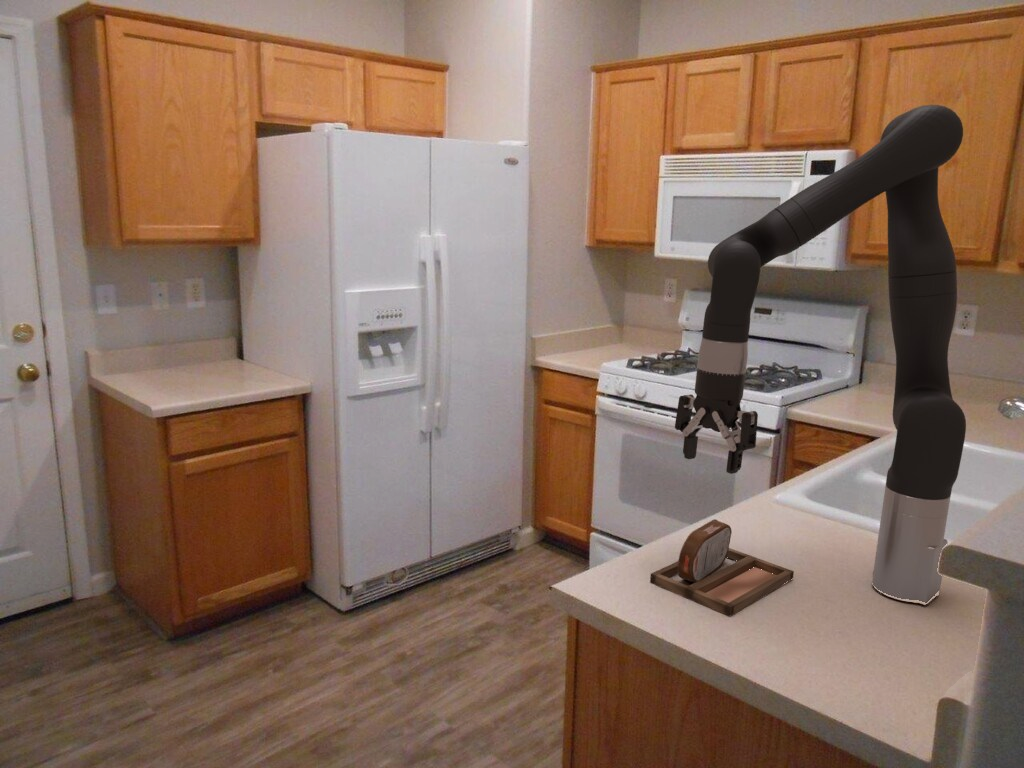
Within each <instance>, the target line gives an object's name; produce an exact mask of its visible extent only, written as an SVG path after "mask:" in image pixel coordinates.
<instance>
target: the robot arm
mask: <svg viewBox="0 0 1024 768" xmlns="http://www.w3.org/2000/svg"><path fill="white" fill-rule="evenodd" d="M963 138H964V126H963V122H962V120H961V118H960V116H959V115H958V114H957V113H956V112H955V111H954V110H953V109H951V108H949V107H947V106H944V105H940V104H928V105H921V106H917V107H914V108H912V109H909V110H908V111H906V112H904V113H901V114H899V115H897V116H896V117H894V118H893V119H892V120H891V121H890V122H889V123H888V124H887V125H886V127H885V128H884V129H883V131H882V133H881V136H880V139H879V140H880V141H879V142H878V143H877V144H875V145H874V146H873V147H871V148H870V149H869V150H867V151H866V152H864V153H863V154H862V155H860V156H859V157H857V158H856V159H855V160H853V161H852V162H850V163H848V164H846V165H845V166H843V167H842V168H840V169H838V170H837V171H835V172H833V173H831V174H829V175H827V176H825V177H823V178H822V179H820V180H818V181H816V182H815V183H813V184H811V185H809V186H807V187H806V188H804V189H802V190H800V191H799V192H798V193H796V194H794V195H793V196H791V197H790V198H789V199H787V200H785V201H784V202H783V203H781V204H780V205H778V206H777V207H775V208H773V209H771V210H770V211H769V212H768V213H767V214H765V215H764V216H763V217H762V218H760V219H758V220H756V221H754V222H753V223H751V224H750V225H747V226H746V227H744V228H742V229H740V230H739V231H738V230H737V232H734V233H733V234H732V235H730V236H728V237H726V238H725V239H724V240H722V241H721V242H719V243H717V245H715V246H714V248H713V249H712V250H711V251H710V253H709V255H708V259H707V269H708V272H709V274H710V275H711V277H712V281H711V288H710V289H711V290H710V300H709V303H708V304H707V307H706V308H705V312H704V319H703V326H702V334H701V342H700V346H699V349H698V350H699V351H698V355H697V356H698V357H697V364H696V365H697V367H696V373H695V374H696V375H695V385H694V393H695V395H696V396H694V395H693V394H684V395H680V396H679V398H678V402H677V410H676V417H675V422H674V429H675V430H676V431H680V432H681V433H682V435H683V437H684V438H683V448H682V453H683V455H684V456H683V457H684V459H686V460H692V459H695V458H696V456H697V449H698V440H699V436H697V435H698V433H699V432H700V431H701V430H702V429H710V430H712V431H714V432H716V433H720V435H721V438H723V439H724V440H725V441H726V443H727V445H728V447H729V449H730V450H728V453H727V462H726V468H725V469H726V470H725V471H726V473H728V474H731V475H732V474H736V473H738V471H740V470H741V469H742V461H743V455H744V451H748V450H753V449H755V448H756V446H757V445H756V444H757V433H758V431H757V430H758V420H759V419H758V418H759V416H758V415H759V414H758V412H757V411H756V410H753V411H752V410H751V411H747V410H742V408H741V401H742V399H743V397H744V388H745V381H746V374H747V364H748V358H749V357H748V355H749V354H748V352H749V350H748V345H749V333H750V326H751V312H752V308H753V304H754V302H755V298H756V293H757V290H758V286H759V280H760V276H761V268H762V267H764V266H766V265H767V264H768V263H770V262H772V261H773V260H775V259H776V258H778V257H779V258H780V257H781V256H785V255H788V254H790V253H792V252H794V251H796V250H797V249H798V250H799V248H801V247H803V246H804V245H805V244H807V243H809V242H810V241H812V240H813V239H814V238H816V237H818V236H819V235H820V234H823V233H824V232H825V231H827V230H828V229H830V228H831V227H832V226H834V225H836V224H837V223H838V222H840V221H842V220H843V219H844V218H845V217H847V216H848V215H850V214H851V213H852V212H854V211H856V210H857V209H859V208H860V207H862V206H863V205H865V204H867V203H868V202H870V201H871V200H873V199H874V198H876V197H878V196H879V195H881V194H884V193H885V198H886V208H887V257H888V261H887V262H888V263H887V264H888V265H887V276H888V277H887V278H888V302H889V311H890V321H891V330H892V338H893V343H894V348H895V349H894V350H895V361H896V362H895V378H894V379H895V380H894V381H895V382H894V383H895V384H894V394H893V404H892V406H893V407H892V420H893V421H892V422H893V425H894V427H895V429H896V437H895V444H894V449H893V456H892V461H891V465H890V467H888V470H887V473H886V478H885V479H886V480H885V486H884V493H883V501H882V506H881V507H882V508H881V513H880V514H881V515H880V520H879V527H878V528H879V529H878V535H877V537H878V538H877V543H876V551H875V556H874V557H875V558H874V564H873V570H872V580H871V584H872V583H873V585H874V586H875V587H876V588H877V589H878V590H880V591H882V592H883V593H886V594H888V595H891V596H894V597H897V598H901V599H909V600H919V601H922V602H925V603H927V602H928V601H929V600H930V599H931V598H932V597H933V596H935V594H936V593H937V592H938V591H939V590H940V591H941V585H942V580H943V575H942V576H941V575H939V574H938V572H937V568H938V562H939V557H940V553H941V550H942V548H943V547H944V546H945V545H946V544H947V545H948V539H945V533H946V528H947V519H948V514H949V508H950V502H951V495H952V491H953V490H952V489H953V486H954V484H955V483H956V480H957V478H958V475H959V471H960V467H961V460H962V455H963V450H964V444H965V440H966V431H967V421H966V416H965V413H964V411H963V409H962V408H961V406H960V405H959V404H958V403H957V402H956V401H955V400H954V399H953V395H952V390H951V389H952V388H951V383H950V372H949V363H948V362H949V361H948V360H949V359H948V358H949V357H948V356H949V355H948V354H949V345H950V340H951V338H952V337H951V336H952V331H953V328H954V324H955V317H956V312H957V304H958V284H957V283H958V280H957V278H958V275H957V262H956V256H955V252H954V251H955V250H954V249H953V248H954V247H953V245H952V241H951V239H950V238H951V237H950V236H949V233H948V229H947V227H946V225H945V223H944V220H943V217H942V213H941V208H940V203H939V168H940V167H942V166H943V165H945V164H946V163H948V161H950V160H951V159H952V158H953V157H954V156H955V155H956V154H957V152H958V151H959V149H960V146H961V144H962V142H963ZM693 409H694V411H695V415H694V416H693V417H692V413H693ZM738 420H739V421H738ZM730 429H731V430H730Z"/></svg>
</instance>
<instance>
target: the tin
mask: <svg viewBox="0 0 1024 768" xmlns="http://www.w3.org/2000/svg"><path fill="white" fill-rule="evenodd" d="M732 534H733V533H732V528H731V526H730V525H729V524H727V523H725V522H721V521H719V520H718V519H715V518H714V519H712V520H710V521H709V522H707V523H705V524H703V525H701V526H700V527H697V528H696V529H694V530H693V531H692V532H690V533H689V535H688V536H687V537H686V539H685V540H684V543H683V544H682V547H681V550H680V552H679V557H678V560H677V561H678V574H677V575H678V577H679V578H680V579H682V580H685V581H688V582H691V583H692V584H694V583H695V582H697V581H699V580H701V579H703V578H705V577H707V576H709V575H711V574H713V573H715V572H717V570H718V569H720V568H721V567H722V565H723V564H724V562H725V561H726V559H727V558H726V556H727V554H728V550H729V548H730V543H731V537H732Z"/></svg>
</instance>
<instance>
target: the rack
mask: <svg viewBox="0 0 1024 768" xmlns="http://www.w3.org/2000/svg"><path fill="white" fill-rule="evenodd" d="M726 557H728V558H731V559H734V560H737V562H736V561H734V560H733V561H734V562H733V563H732V564H729V565H727V566H726V567H724V568H722V569H719V570H718V571H717V570H716V571H714V572H713V573H711V574H710V575H708V576H707V577H705V578H703V579H701V580H699V581H697V582H695V583H692V584H690V585H687V584H684V583H683V582H680V581H678V580H675V579H673V578H672V577H674V576H676V575H678V560H677V561H674V562H673V563H670V564H669V565H666V566H664V567H662V568H660V569H658V570H656V571H654V572H651V573H650V580H649V582H650V583H651V584H653V585H655V586H658V587H660V588H663V589H665V590H667V591H670V592H672V593H673V594H677V595H679V596H681V597H684V598H685V599H688V600H691V601H693V602H695V603H697V604H700V605H702V606H705V607H706V608H709V609H712V610H714V611H716V612H719V613H721V614H723V615H725V616H728V617H731V616H733V615H735V614H737V613H738V612H740V611H742V610H744V609H745V608H748V607H749V606H751V605H752V604H754V603H756V602H757V601H759V600H760V598H761V599H762V598H764V597H766V596H768V595H769V594H770V592H771V593H772V591H773V590H774V591H776V590H777V589H776V588H778V587H779V588H781V587H782V586H781V585H783V584H784V583H786V582H787V581H789V580H791V579H792V578H793V579H794V574H795V573H794V570H792V569H789V568H786V567H784V566H780V565H777V564H775V563H772V562H769V561H767V560H763V559H761V558H759V557H756V556H752V555H750V554H747V553H744V552H741V551H738V550H735V549H733V548H731V547H729V550H728V554H727V556H726ZM728 558H727V559H728ZM731 559H730V560H731ZM753 567H754V568H753ZM749 569H750V570H749ZM761 569H762V570H761ZM772 573H773V574H772ZM791 581H792V580H791ZM786 584H787V583H786ZM780 586H781V587H780ZM783 586H784V585H783ZM779 588H778V589H779ZM775 589H776V590H775ZM774 591H773V592H774ZM768 593H769V594H768ZM765 595H766V596H765ZM763 596H764V597H763ZM758 599H759V600H758ZM755 601H756V602H755Z"/></svg>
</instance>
